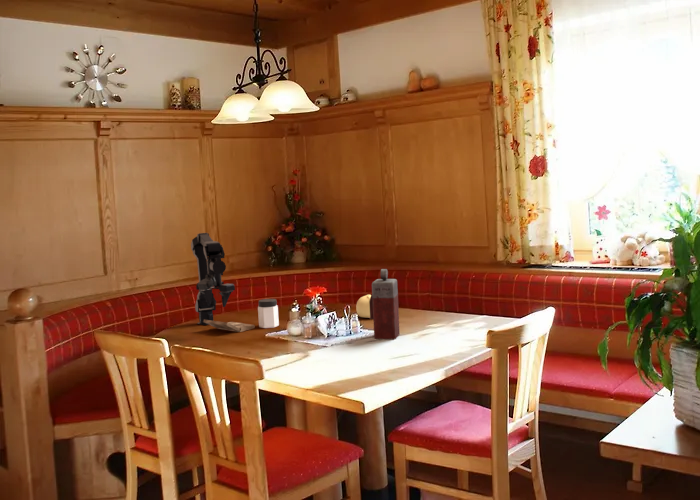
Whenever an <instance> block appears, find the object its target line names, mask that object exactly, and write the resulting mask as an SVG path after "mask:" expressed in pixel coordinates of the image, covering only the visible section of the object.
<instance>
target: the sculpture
mask: <svg viewBox="0 0 700 500" xmlns="http://www.w3.org/2000/svg"><path fill="white" fill-rule="evenodd" d="M371 295H372V294H366V295H363V296H361V297H360V298H359V299H358V300H357V301H356V307H355V308H356V313H357V315H358V316H359V317H360V318H369V319H370V305H369V301H370V297H371Z"/></svg>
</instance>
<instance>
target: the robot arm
mask: <svg viewBox="0 0 700 500" xmlns="http://www.w3.org/2000/svg"><path fill="white" fill-rule="evenodd" d="M190 249H191V251H192V254H193V256H194V257H195V258H196V262H197V263H196V264H197V273H198V274H197V275H198V282H197V283H196V285H195V288H196V291H197V290H198V293H197V295H196V300H195V306H194V307H195V312H197V313H198V319H199V320H198V321H199V322H197V323H196V324H197V325H201V326H207V325H209V324H206V323H204V322H203V321H204V320H211V321H214V314H213V311H216V309H217V300H216V298H215V297H214V295H215V294H214V293H213V290H219V292H218V293H219V295H220V296H221V303H222V304H221V305H222V307H223V308H225V307H226V305H227V304H228V301H229V299H230V295H231V294H232V293H234V291H236V288H235V287H236V286H235V284H234V283H225V282H224V281H222V276H224V272H225V270H226V268H227V265H226V263H225V262H224V261H223V260H222V259H225V255H226V254H225V250H224V246H223V245H222V244H221V243H220V242H219V241H216V240H215V241H214V240H213V239H212V238H211V236H210V234H209V233H208V232H200V233H197V234H196V236H195V237H194V238H192V239H191V242H190ZM209 326H210V325H209Z"/></svg>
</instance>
